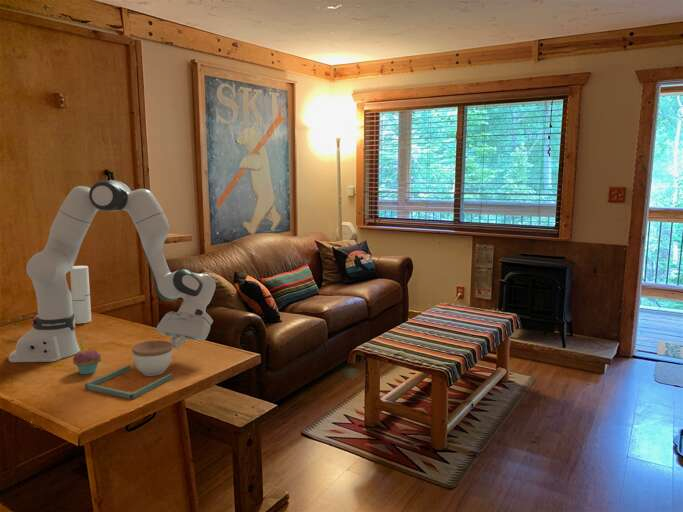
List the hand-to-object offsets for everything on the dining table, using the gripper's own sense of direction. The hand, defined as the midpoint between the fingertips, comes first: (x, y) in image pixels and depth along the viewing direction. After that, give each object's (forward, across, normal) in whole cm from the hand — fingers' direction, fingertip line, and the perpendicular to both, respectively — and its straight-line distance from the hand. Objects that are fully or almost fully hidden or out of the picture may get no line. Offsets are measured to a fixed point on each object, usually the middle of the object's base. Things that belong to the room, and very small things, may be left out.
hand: (173, 347), depth 182 cm
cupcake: (+17, -20, -10) cm, 28 cm away
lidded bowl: (+11, 0, -3) cm, 12 cm away
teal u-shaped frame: (+18, 0, -10) cm, 21 cm away
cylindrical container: (-11, -68, +19) cm, 72 cm away
